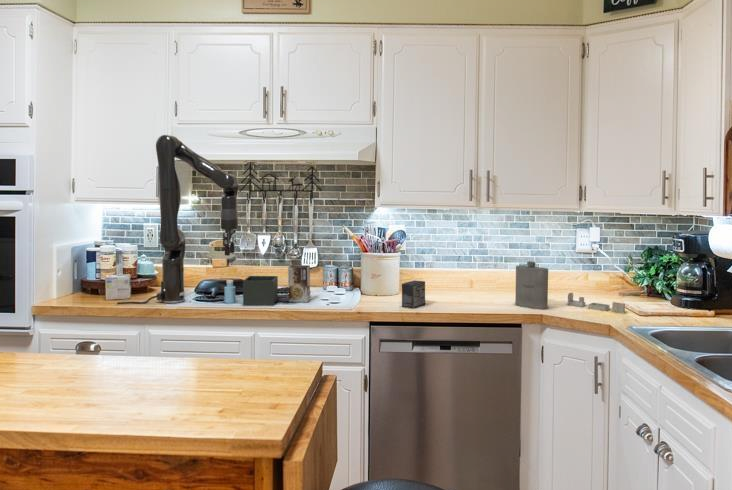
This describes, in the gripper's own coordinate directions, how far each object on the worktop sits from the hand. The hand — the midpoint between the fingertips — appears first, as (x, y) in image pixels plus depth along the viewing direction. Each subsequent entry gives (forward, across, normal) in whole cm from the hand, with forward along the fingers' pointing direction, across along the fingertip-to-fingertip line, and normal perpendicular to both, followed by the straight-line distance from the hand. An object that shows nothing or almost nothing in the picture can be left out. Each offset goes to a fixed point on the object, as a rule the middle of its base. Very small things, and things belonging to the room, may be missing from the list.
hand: (229, 254), depth 277 cm
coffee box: (+22, -4, +31) cm, 38 cm away
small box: (+23, +5, +83) cm, 86 cm away
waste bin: (+22, 0, +14) cm, 26 cm away
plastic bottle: (+22, 0, 0) cm, 22 cm away
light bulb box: (+22, -8, -54) cm, 59 cm away
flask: (+23, +6, +135) cm, 137 cm away
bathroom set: (+23, +9, +163) cm, 165 cm away
